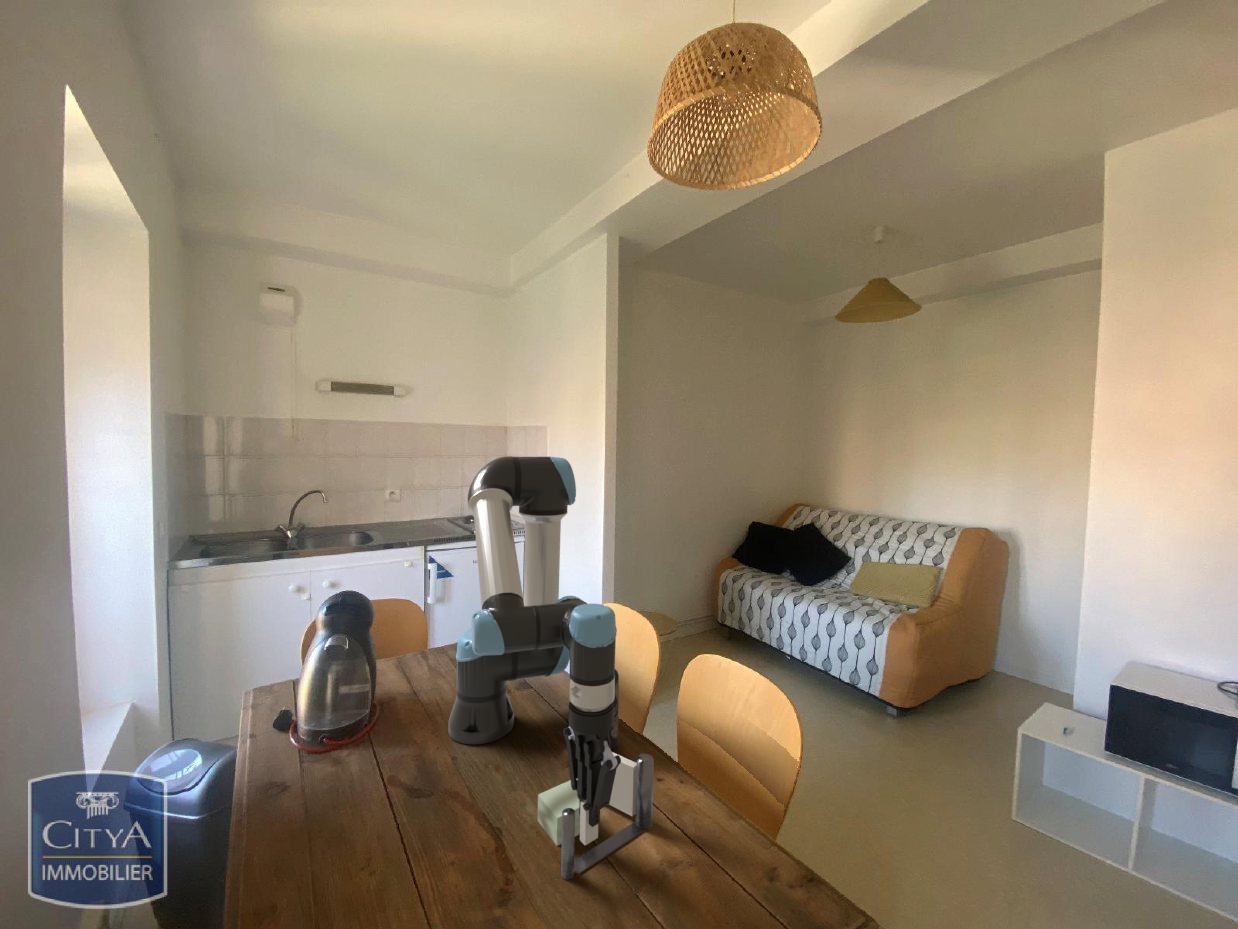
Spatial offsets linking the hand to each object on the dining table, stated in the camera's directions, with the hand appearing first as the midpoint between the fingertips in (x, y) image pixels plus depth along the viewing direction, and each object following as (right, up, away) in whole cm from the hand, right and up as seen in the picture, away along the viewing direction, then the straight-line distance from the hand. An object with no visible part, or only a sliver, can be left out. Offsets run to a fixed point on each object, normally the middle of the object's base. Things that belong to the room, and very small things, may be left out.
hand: (588, 838), depth 84 cm
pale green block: (-5, -2, +5) cm, 7 cm away
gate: (+3, 0, +11) cm, 11 cm away
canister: (0, -1, +29) cm, 29 cm away
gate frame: (+3, -2, +1) cm, 4 cm away
